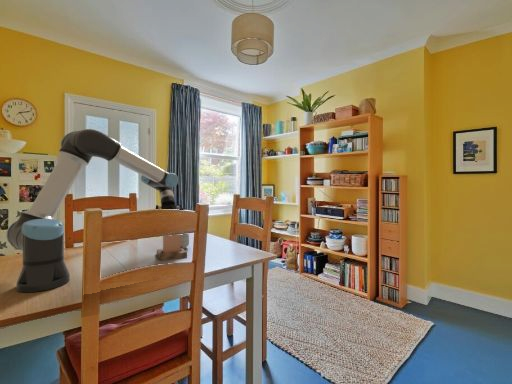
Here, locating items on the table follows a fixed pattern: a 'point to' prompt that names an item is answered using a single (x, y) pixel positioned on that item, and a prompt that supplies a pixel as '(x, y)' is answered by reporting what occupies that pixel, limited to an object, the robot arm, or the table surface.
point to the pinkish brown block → (171, 243)
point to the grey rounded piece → (184, 240)
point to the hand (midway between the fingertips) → (172, 230)
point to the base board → (171, 254)
